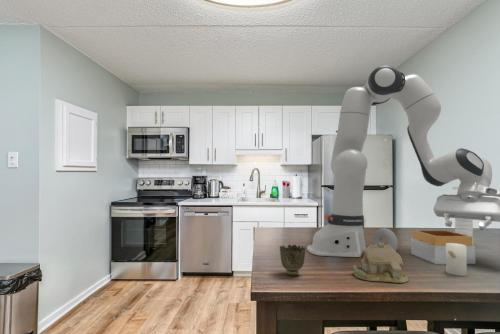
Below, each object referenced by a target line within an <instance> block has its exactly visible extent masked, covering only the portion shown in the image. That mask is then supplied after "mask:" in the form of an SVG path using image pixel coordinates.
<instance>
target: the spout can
mask: <svg viewBox="0 0 500 334" xmlns="http://www.w3.org/2000/svg"><path fill="white" fill-rule="evenodd" d="M467 265H468V264H467V259H466V245H463V244H458V243H446V264H445V273H447V274H449V275H453V276H460V277H466V276H467V269H468V268H467V267H468V266H467Z"/></svg>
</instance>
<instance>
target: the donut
mask: <svg viewBox="0 0 500 334" xmlns="http://www.w3.org/2000/svg"><path fill="white" fill-rule="evenodd" d="M383 239H386V240H387V245H390V246H392V248H393V249H394V250H395V251H396V252H397V251H398V248H399V241H398V240H399V239H398V237H397V235H396V233H394V232H393V230H391V229H390V228H387V227H386V228H385V227H381V228H379V229H377V230H376V231H375V232H374V235H373V238H372V242H373V245H378V242H382V243H384V241H383Z"/></svg>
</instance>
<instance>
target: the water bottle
mask: <svg viewBox="0 0 500 334" xmlns="http://www.w3.org/2000/svg"><path fill="white" fill-rule="evenodd" d="M458 188H459V186H458V187H457V186H456V187H455V186H452V190H458ZM473 221H474V220H472V219H461V218H454V225H455V226H454V232H456V233H460V234H464V235H468V236H472V242H473V243H474V229H473V228H474V222H473Z"/></svg>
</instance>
